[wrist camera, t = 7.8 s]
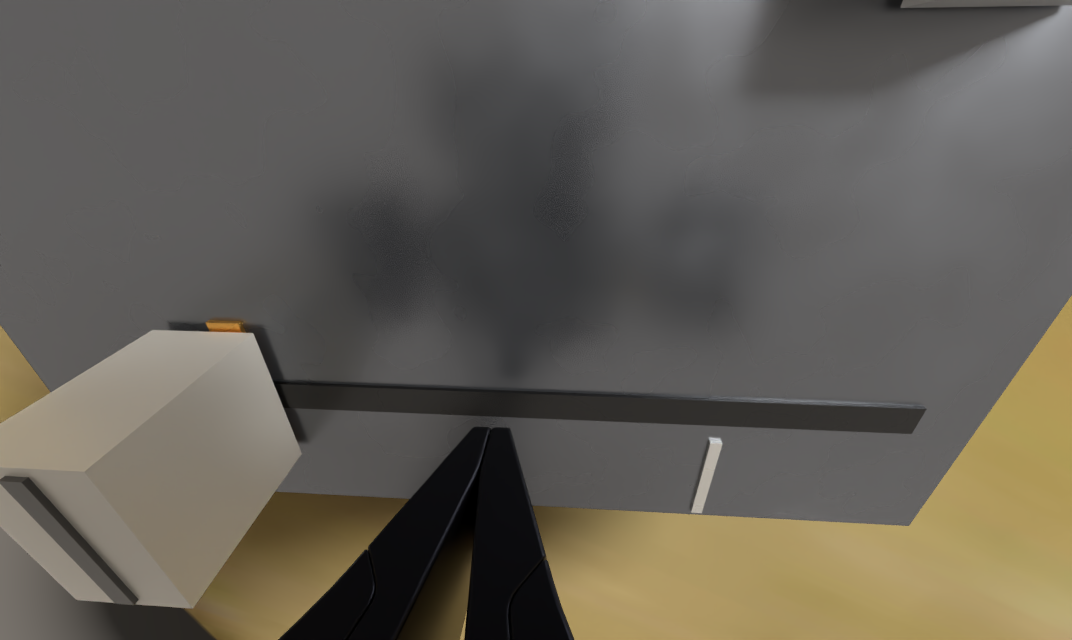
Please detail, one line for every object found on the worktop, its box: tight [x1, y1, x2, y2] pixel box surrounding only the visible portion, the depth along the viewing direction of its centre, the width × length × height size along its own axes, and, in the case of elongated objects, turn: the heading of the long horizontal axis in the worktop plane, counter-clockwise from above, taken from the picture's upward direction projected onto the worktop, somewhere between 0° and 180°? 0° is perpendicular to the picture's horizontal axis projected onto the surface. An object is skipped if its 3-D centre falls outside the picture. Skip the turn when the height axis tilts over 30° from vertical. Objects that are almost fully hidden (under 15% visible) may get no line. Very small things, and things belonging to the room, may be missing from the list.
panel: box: [0, 0, 1072, 526], centre depth 9 cm, size 18×24×2 cm
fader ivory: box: [0, 330, 302, 608], centre depth 9 cm, size 4×2×4 cm, turn 0°
